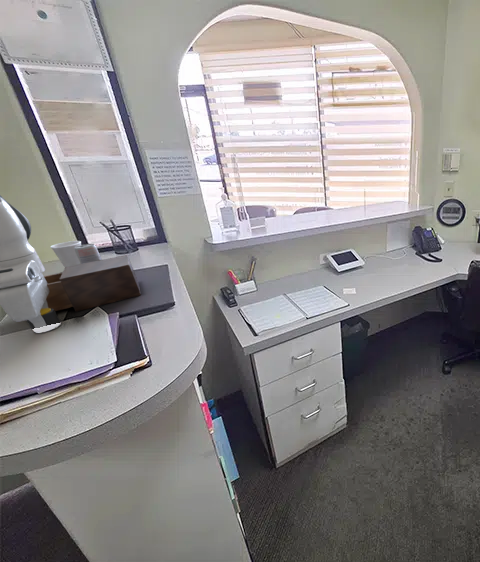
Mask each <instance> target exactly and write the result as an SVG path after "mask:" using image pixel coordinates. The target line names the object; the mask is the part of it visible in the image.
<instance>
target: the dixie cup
mask: <svg viewBox="0 0 480 562" xmlns="http://www.w3.org/2000/svg"><path fill="white" fill-rule="evenodd" d="M80 245H82V241H80V240H71V241H70V240H69V241H64V242H60V243H55V244H53V245H51V246H50V247H49V248H50V249H51V250H52V251H53V252H54V254H55V256H56V257H57V259H58V260H59V261H60V263H61V264H62V265H63V267H64V268H65V267H67V266H73V265H78V264H81V263H80V261H79V259H78V257H77V255H76V253H75V248H74V247H76V246H80Z"/></svg>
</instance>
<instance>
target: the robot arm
mask: <svg viewBox="0 0 480 562" xmlns="http://www.w3.org/2000/svg"><path fill="white" fill-rule="evenodd" d="M31 235H32V225H31V221H29V219H28V218H27V216H26V215H24V214H23V213H22V212H21V211H20V210H19V209H17V208H16V207H14V205H12V204H11V203H10V202H9V201H7V200H6V199H5V198H4V197H3V196H2V195H1V194H0V307H1V308H2V310H3V311H4V312H5V314H6V315H7V317H9V319H10V320H12V321H13V322H15V323H19V322H23V321H26V320H29V321H30V322H31V323H33V325H34V326H35V328H40V327H43V326H46V325H47V322H46V320H45V318H43V317H42V316H41V313H40V310H41V309H44V308H48V304H47V300H46V298H47V296H48V294H49V292H50V290H49V288H48V286H47V284H48V283H47V281H46V280H45V278H44V276H45V275H44V274H43V273H44V272H45V271H46V268H45V266H44V264H43V262H42V260H41V258H40V257H39V254H38V253H37V250H36V249H35V247H33V246H32V245H31V244H30V242H29V239H30V237H31Z"/></svg>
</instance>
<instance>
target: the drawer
mask: <svg viewBox="0 0 480 562" xmlns="http://www.w3.org/2000/svg"><path fill="white" fill-rule="evenodd" d="M62 273H63V271H62V272H58V273H53V274H48V275H43V276H44V278H45V280H46V281H47V283H48V284H47V286H48V288H49V290H50V292H49V294H48V296H47V298H46V300H47V304H48V308H52V309H54V310H55V312H57V311H62V310H66V309H69V308H74V307H73V305H72V303H71V301H70V299H69V297H68V295H67V293H66V291H65V289H64V287H63V285H62V283H61V281H60V277H61V275H62Z"/></svg>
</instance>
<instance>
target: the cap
mask: <svg viewBox="0 0 480 562" xmlns="http://www.w3.org/2000/svg"><path fill="white" fill-rule="evenodd" d="M40 313H41V316H42V317H43V318H45V320H46V322H47V325H51V324H56V323H60V322H61V320H60V318H59V316H58V314H57V311H55V310H54V309H52V308H44V309H41V310H40ZM25 321H26V323H27V324H28V326H29V328H30V329H31V330H32V329H34V328H35V326H34V325H33V323H31V322H30V321H29V320H25ZM47 325H46V326H47Z"/></svg>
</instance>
